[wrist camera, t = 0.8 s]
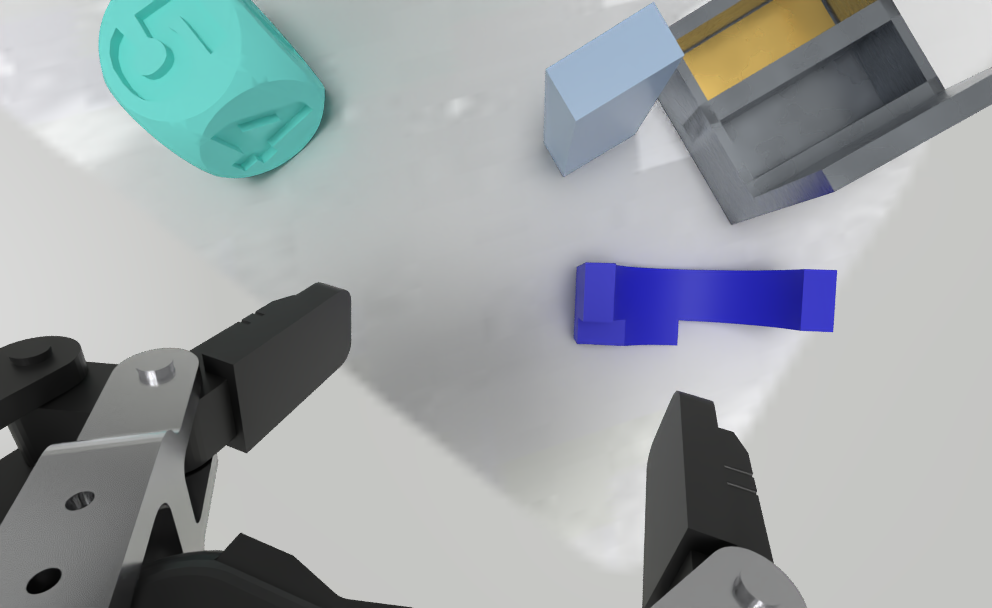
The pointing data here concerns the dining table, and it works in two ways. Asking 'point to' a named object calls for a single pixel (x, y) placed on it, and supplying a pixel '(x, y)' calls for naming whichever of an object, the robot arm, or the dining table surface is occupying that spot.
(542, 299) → the dining table surface
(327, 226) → the dining table surface
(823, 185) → the grey compartment holder
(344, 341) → the robot arm
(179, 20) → the decorative dice
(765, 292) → the blue piece
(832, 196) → the dining table surface
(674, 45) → the light blue rectangular block
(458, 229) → the dining table surface
